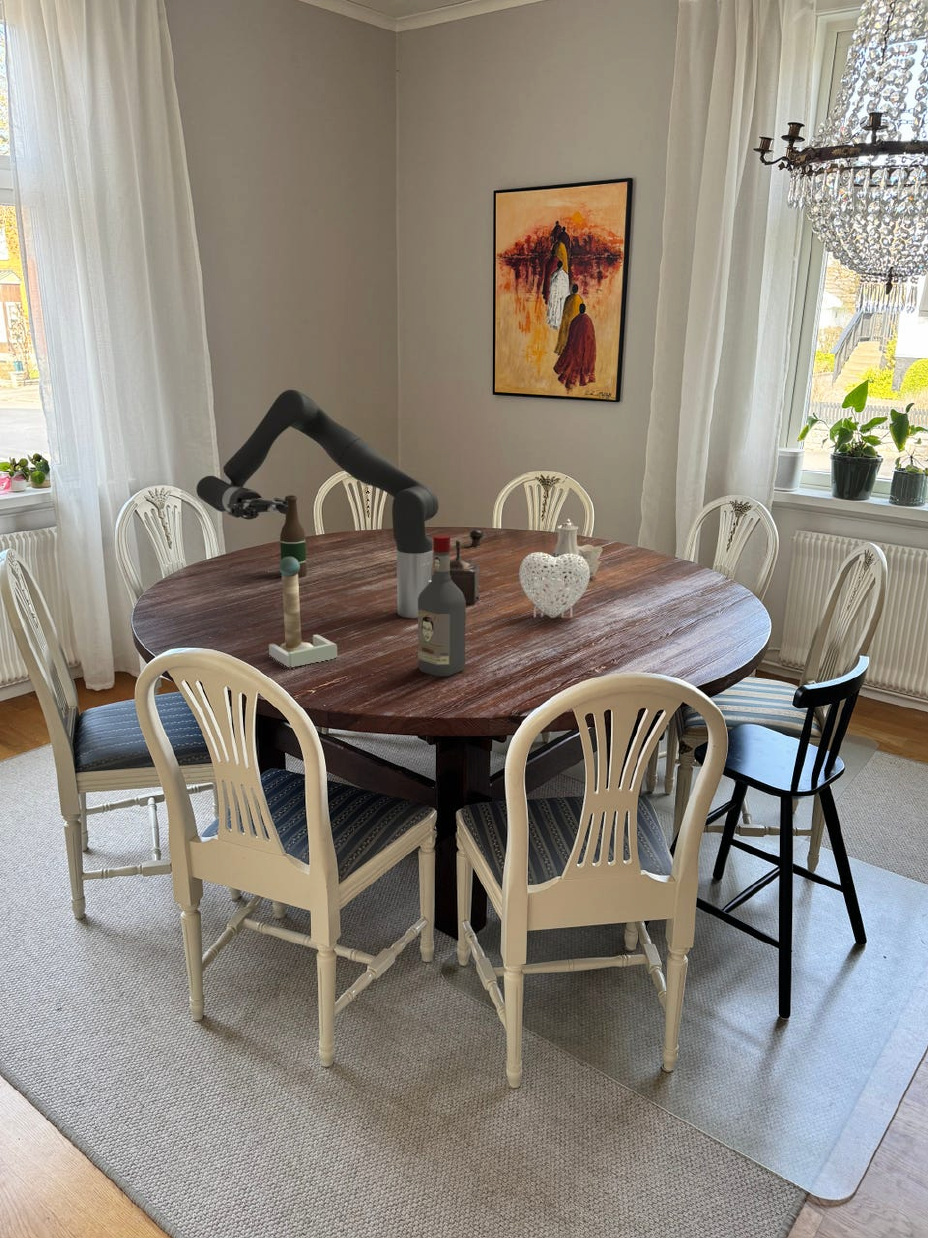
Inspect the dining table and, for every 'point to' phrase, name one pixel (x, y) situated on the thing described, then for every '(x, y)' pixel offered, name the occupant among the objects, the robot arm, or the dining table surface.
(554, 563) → the decorative heart
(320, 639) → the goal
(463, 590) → the manual coffee grinder
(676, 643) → the dining table surface
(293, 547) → the beer bottle
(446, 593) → the liquor
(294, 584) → the post
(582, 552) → the chinaware
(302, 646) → the ball
